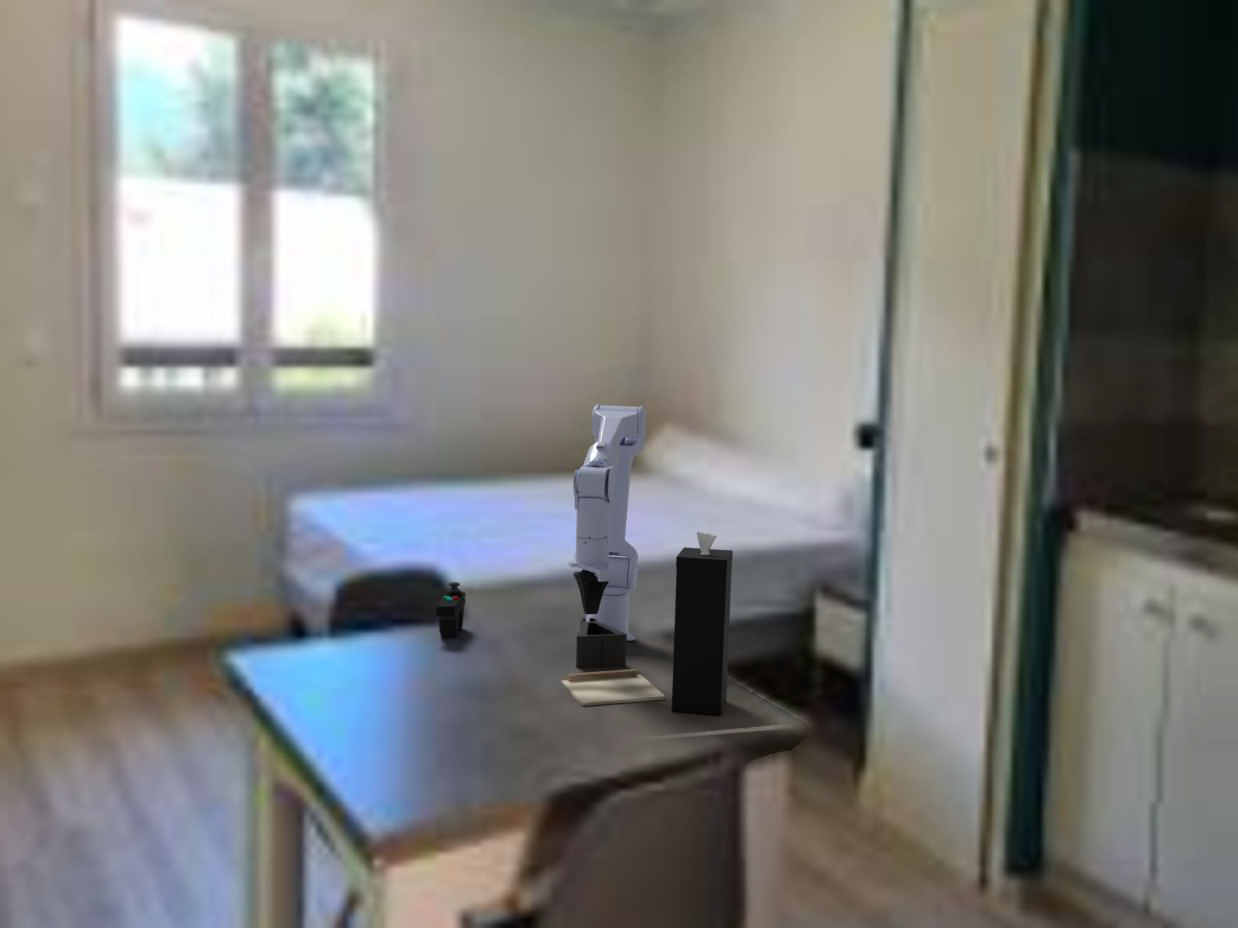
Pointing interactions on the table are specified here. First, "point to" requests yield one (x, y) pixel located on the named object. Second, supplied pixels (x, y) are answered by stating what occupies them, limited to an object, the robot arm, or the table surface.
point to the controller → (451, 611)
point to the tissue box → (701, 628)
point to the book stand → (610, 687)
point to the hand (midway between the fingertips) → (590, 613)
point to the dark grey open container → (600, 645)
